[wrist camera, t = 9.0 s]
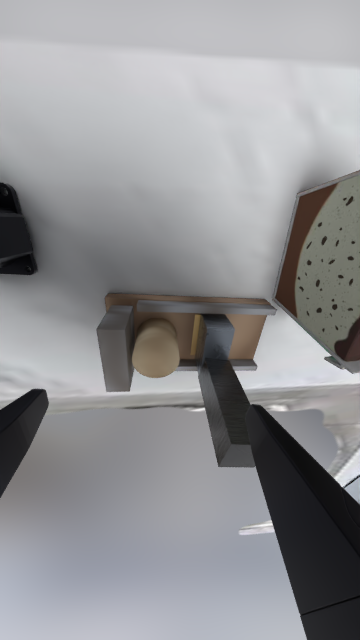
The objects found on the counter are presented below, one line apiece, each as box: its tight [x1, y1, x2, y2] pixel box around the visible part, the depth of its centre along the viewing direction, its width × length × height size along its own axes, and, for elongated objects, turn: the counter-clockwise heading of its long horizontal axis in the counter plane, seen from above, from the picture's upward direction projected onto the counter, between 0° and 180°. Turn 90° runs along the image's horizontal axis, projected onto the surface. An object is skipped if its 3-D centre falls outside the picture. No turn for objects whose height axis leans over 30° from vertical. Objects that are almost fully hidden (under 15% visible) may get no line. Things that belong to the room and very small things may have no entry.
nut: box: [132, 318, 180, 378], centre depth 18 cm, size 4×4×4 cm
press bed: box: [97, 293, 277, 392], centre depth 18 cm, size 16×8×6 cm, turn 86°
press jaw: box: [195, 313, 255, 467], centre depth 15 cm, size 3×6×10 cm, turn 176°
